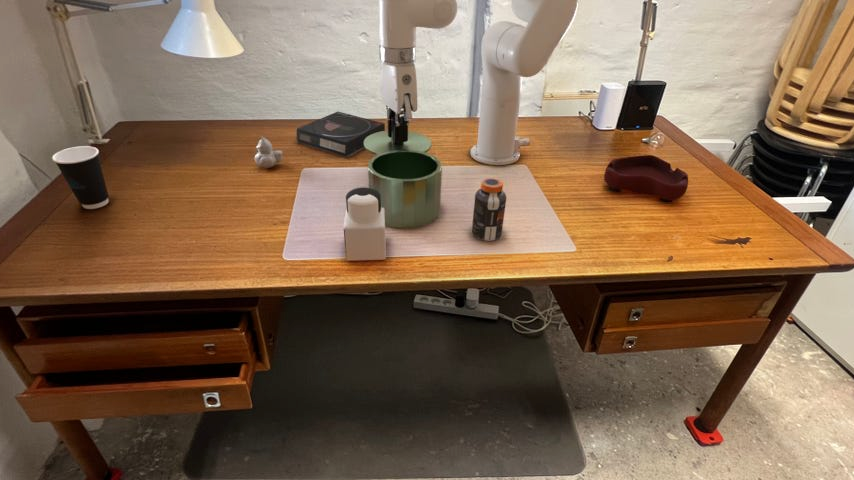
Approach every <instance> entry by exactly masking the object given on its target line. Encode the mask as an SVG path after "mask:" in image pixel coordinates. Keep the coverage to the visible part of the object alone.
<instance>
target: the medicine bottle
mask: <svg viewBox="0 0 854 480" xmlns="http://www.w3.org/2000/svg"><path fill="white" fill-rule="evenodd" d="M345 205H346V209H345V210H344V219H343V220H344V221H343V236H344V237H343V239H344V251H345V260H346V261H348V262H352V261H356V262H357V261H385V260H386V258H387V251H386V250H387V247H386V246H387V244H386V243H387V242H386V241H387V240H386V226H385V210H384V208H381V195H380V193H379V192H378V191H377V190H375V189H372V188H369V187H365V186H364V187H355V188H352V189H351V190H349V191H348V192H347V193H346V195H345Z"/></svg>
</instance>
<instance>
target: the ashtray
mask: <svg viewBox="0 0 854 480" xmlns="http://www.w3.org/2000/svg"><path fill="white" fill-rule="evenodd" d="M603 180H604V182H605V183H606V185H607V186H608V187H607V189H608V190H609V191H611V192H614V193H620V192H622V191H630V192H633V193H637V194H640V195H644V196H645V195H646V196H655V197H656V198H658V200H659V201H660V202H662V203H666V204H671V203H673V202H674V201H676V200H678V199H680V198H682V197H684V195H685V194H686V192H687V190H688V187H689V186H688V185H689V175H688V173H687V172H685V171H684V170H682V169H680V168H678V167H676V168H675V169H672V165H671V163H670V162H667V160H664V159H663V158H660V157H658V156H655V155H653V154H644V155H633V156H626V157H625V156H624V157H618V158H613V159H611V160H610V161H609V163H608V164H607V166H606V168H605V171H604V175H603Z"/></svg>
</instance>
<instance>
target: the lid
mask: <svg viewBox="0 0 854 480" xmlns="http://www.w3.org/2000/svg"><path fill="white" fill-rule="evenodd" d="M400 117H401V116H400ZM400 117H399V118H400ZM394 125H396V123H395V117H393V118H391V134H392V137H391V138H390V137H388V130H385V131H381V132H377V133H374V134H371V135H369V136H368V137H366V138H365V140H364V147H365V148H364V149H365V150H366V151H367V152H369V153H370V154H372V155H375V156H376V155H378V154H381V153H384V152H389V151H395V150H413V151H420V152H424V153H429V151H430V150H431V149H432V140H430V138H429V137H428V136H426V135H424V134H422V133H419V132H416V131H412V130H408V141H407V142H401V143H395V142H394Z"/></svg>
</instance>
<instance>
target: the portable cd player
mask: <svg viewBox="0 0 854 480" xmlns="http://www.w3.org/2000/svg"><path fill="white" fill-rule="evenodd" d="M381 131H386V123H385V122H380V121H376V120H373V119H369V118H366V117H361V116H357V115H354V114H350V113H346V112H342V111H336V112H332V113H331V114H328V115H326V116H324V117H321V118H318V119H316V120H314V121H311V122H309V123H306V124H304V125H301V126H299V127H296V138H295V139H296V141H297V142H298V144H301V145H304V146H307V147H310V148H314V149H316V150H320V151H323V152H327V153H330V154H334V155H337V156H340V157H343V158H349V157H351V156H353V155H355V154H357V153H359V152H360V151H362V150H364V149H365V147H364V140H365V138H366V137H368V136H369V135H371V134H374V133H377V132H381Z"/></svg>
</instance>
